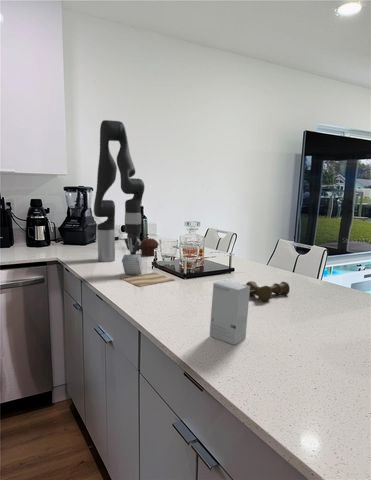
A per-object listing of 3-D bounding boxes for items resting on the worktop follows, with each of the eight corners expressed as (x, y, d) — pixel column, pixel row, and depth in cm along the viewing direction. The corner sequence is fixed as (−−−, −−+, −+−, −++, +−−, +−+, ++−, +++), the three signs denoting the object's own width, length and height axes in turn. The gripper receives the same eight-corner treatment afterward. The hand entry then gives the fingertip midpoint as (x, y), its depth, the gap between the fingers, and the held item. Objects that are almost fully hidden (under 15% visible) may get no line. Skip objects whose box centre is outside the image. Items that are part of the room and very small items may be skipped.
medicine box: (143, 268, 155) (140, 254, 150) (141, 275, 151) (138, 260, 146) (126, 268, 156) (123, 254, 151) (124, 275, 152) (121, 260, 147)
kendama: (294, 298, 123) (251, 304, 115) (277, 292, 132) (235, 297, 123) (295, 283, 123) (252, 287, 114) (277, 277, 131) (236, 281, 123)
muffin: (143, 257, 193) (143, 240, 192) (136, 254, 202) (136, 238, 201) (162, 255, 199) (162, 239, 198) (154, 252, 208) (154, 237, 207)
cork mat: (120, 278, 145) (120, 277, 145) (154, 272, 157) (154, 272, 157) (139, 287, 133) (139, 286, 133) (175, 280, 144) (175, 279, 144)
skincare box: (209, 336, 88) (210, 282, 86) (221, 329, 93) (223, 278, 91) (236, 346, 83) (238, 289, 81) (248, 338, 88) (250, 284, 85)
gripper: (118, 221, 154) (119, 258, 156) (133, 224, 144) (133, 263, 146) (133, 221, 158) (133, 256, 161) (147, 223, 148) (147, 261, 151)
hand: (133, 259), depth 153 cm, fingers closed
